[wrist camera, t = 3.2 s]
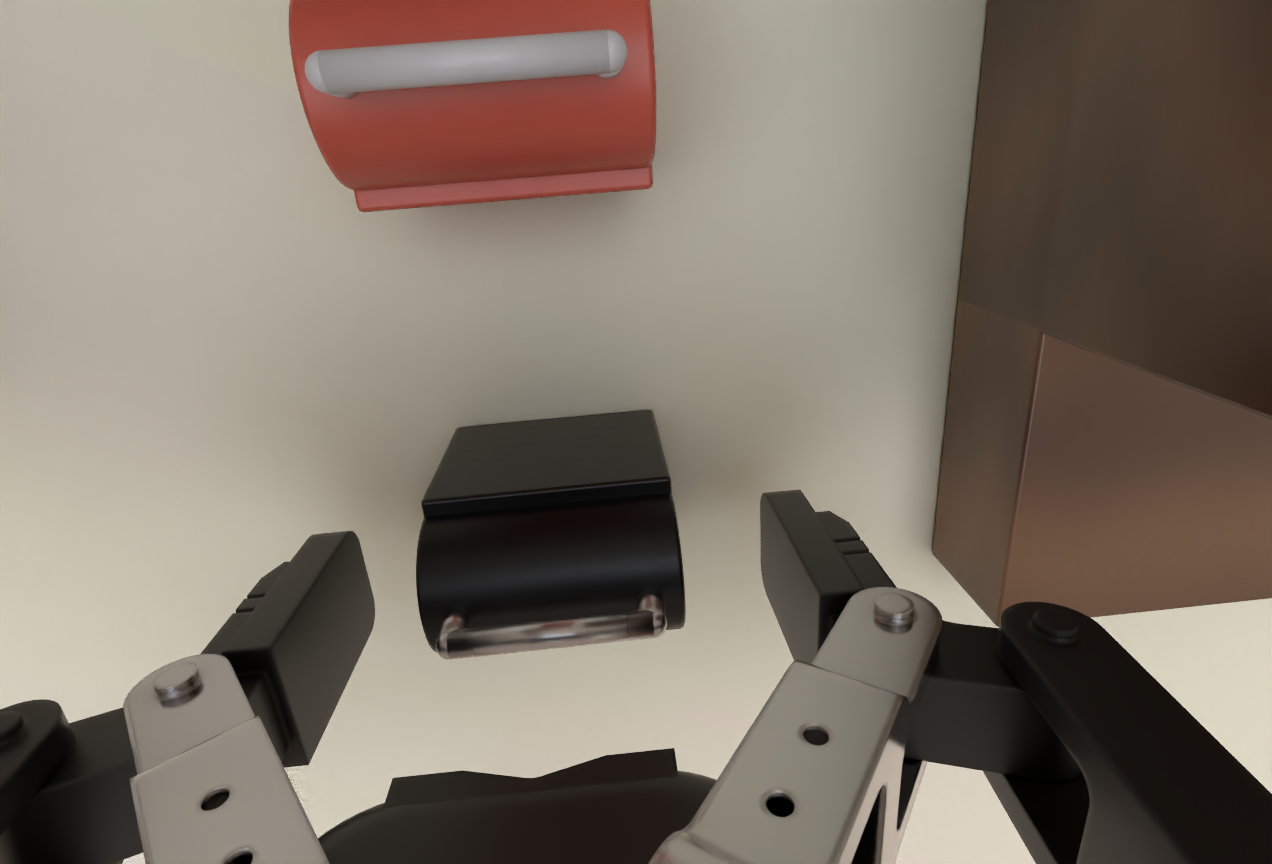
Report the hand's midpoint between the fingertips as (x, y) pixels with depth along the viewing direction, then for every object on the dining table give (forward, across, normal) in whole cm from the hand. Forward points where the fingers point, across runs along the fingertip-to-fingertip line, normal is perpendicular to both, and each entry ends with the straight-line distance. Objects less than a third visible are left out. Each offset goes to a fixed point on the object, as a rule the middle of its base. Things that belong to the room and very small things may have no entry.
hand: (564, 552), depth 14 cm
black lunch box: (+3, 0, 0) cm, 3 cm away
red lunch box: (+3, 0, -8) cm, 9 cm away
